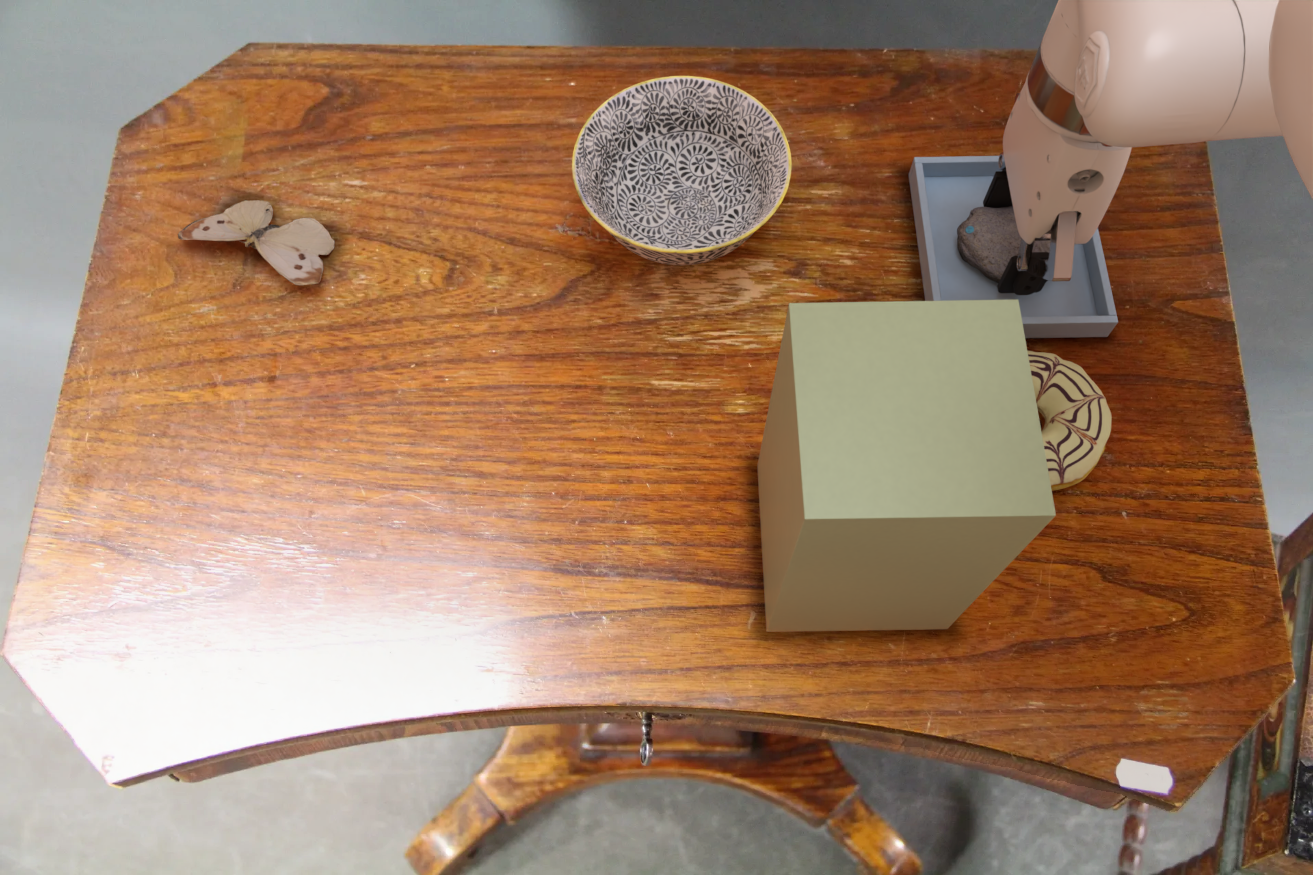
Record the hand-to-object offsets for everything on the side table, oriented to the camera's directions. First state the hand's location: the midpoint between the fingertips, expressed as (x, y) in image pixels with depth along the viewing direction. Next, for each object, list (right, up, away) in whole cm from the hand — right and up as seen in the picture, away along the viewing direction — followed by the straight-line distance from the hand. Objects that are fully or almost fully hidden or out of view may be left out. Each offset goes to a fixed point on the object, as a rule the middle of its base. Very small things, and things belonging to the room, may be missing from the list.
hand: (1010, 246), depth 82 cm
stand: (-14, -22, -8) cm, 27 cm away
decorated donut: (-1, -14, -5) cm, 15 cm away
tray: (0, 0, +2) cm, 1 cm away
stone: (0, 0, +1) cm, 1 cm away
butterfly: (-58, 0, +3) cm, 58 cm away
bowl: (-25, +2, +3) cm, 25 cm away
